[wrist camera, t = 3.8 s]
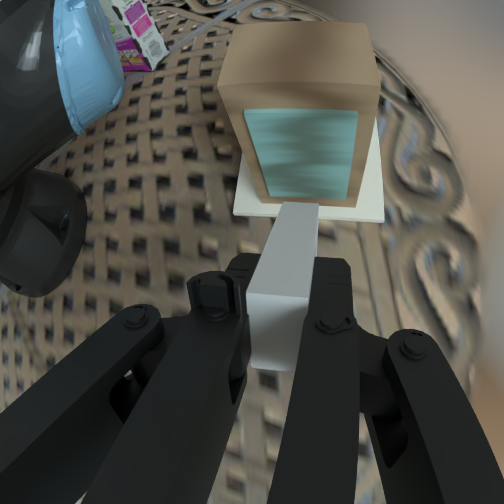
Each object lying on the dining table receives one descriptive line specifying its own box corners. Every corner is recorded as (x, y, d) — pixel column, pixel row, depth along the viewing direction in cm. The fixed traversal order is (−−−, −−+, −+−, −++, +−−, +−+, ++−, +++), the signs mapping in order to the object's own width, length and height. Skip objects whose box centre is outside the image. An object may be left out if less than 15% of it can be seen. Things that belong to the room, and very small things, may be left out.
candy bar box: (173, 51, 38) (128, -35, 23) (153, 73, 37) (101, -15, 22) (123, 52, 41) (78, -17, 26) (105, 72, 41) (54, 3, 25)
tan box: (261, 206, 27) (215, 89, 14) (268, 147, 29) (234, 25, 16) (355, 211, 25) (381, 90, 12) (353, 149, 27) (365, 23, 14)
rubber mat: (234, 215, 28) (232, 212, 28) (255, 88, 32) (254, 84, 32) (382, 222, 25) (384, 220, 25) (370, 90, 30) (371, 86, 29)
